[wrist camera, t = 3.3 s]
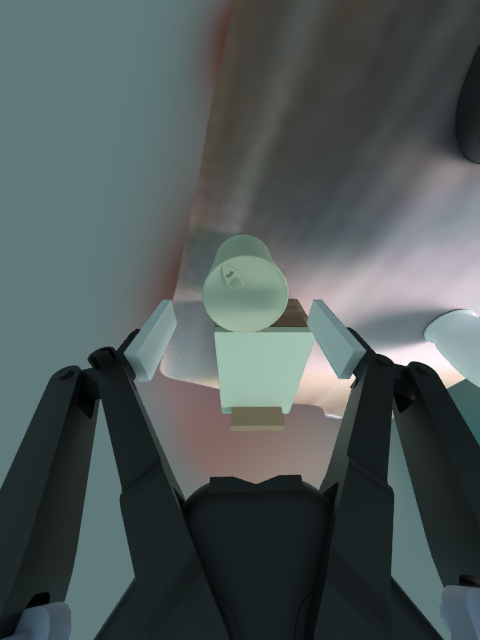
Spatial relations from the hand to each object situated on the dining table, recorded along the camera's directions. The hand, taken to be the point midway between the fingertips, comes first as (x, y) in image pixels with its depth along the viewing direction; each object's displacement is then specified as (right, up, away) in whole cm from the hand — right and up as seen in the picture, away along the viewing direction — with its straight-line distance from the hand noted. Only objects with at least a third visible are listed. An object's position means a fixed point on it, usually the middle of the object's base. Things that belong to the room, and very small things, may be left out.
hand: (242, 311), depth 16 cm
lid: (+3, -11, +14) cm, 18 cm away
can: (0, +8, +11) cm, 14 cm away
